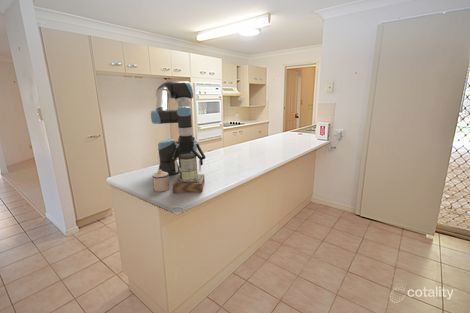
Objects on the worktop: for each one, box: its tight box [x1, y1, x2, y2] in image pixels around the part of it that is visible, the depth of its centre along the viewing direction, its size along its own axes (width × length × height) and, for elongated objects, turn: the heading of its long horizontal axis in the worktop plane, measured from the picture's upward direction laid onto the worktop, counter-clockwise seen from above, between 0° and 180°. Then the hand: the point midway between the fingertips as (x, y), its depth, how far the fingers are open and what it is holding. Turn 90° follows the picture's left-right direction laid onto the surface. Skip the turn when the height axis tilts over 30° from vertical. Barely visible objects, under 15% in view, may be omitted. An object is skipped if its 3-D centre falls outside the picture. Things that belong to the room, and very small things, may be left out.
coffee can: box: [178, 153, 199, 182], centre depth 132 cm, size 10×10×14 cm
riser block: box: [172, 173, 205, 194], centre depth 135 cm, size 16×16×5 cm
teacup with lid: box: [151, 170, 171, 193], centre depth 134 cm, size 12×9×12 cm
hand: (188, 171), depth 133 cm, fingers open, 13 cm apart
